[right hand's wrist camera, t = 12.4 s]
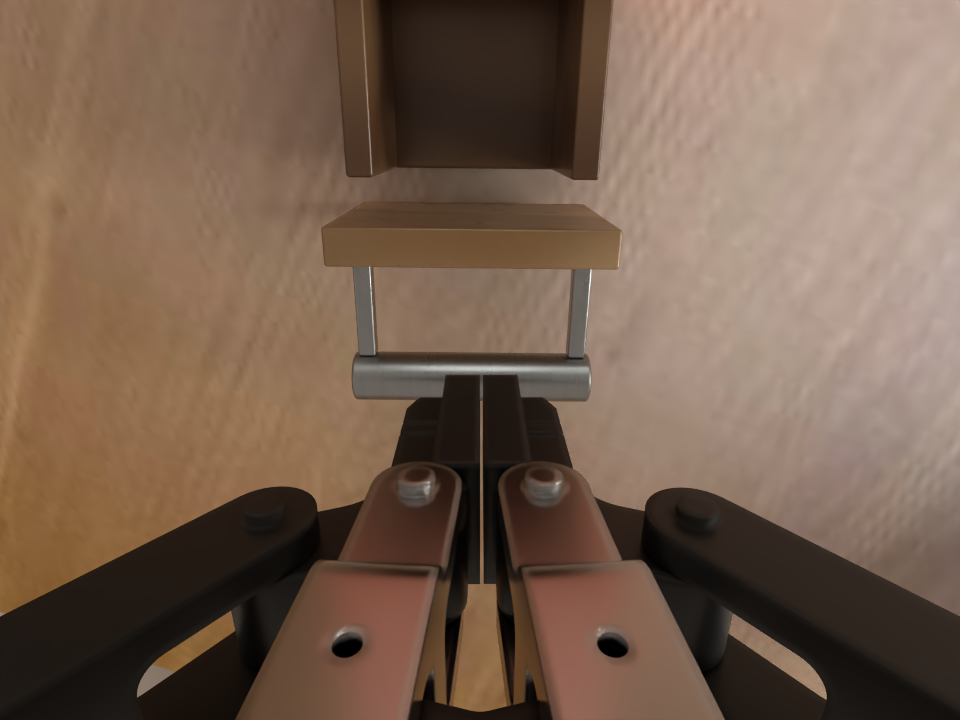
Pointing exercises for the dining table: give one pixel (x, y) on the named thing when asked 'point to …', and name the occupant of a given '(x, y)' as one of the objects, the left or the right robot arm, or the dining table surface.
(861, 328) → the dining table surface
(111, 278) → the dining table surface
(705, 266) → the dining table surface
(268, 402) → the dining table surface
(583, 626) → the right robot arm
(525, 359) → the drawer
